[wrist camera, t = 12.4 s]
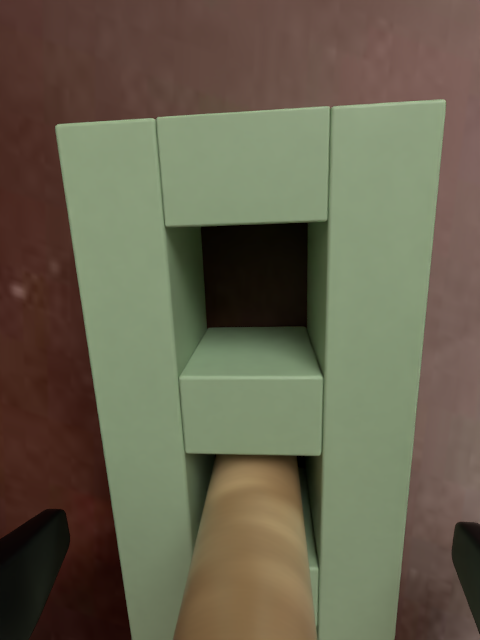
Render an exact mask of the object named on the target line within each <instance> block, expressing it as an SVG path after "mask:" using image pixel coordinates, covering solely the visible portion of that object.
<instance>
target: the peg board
mask: <svg viewBox="0 0 480 640" xmlns="http://www.w3.org/2000/svg"><path fill="white" fill-rule="evenodd" d="M445 110H446V100H442V99H439V100H423V101H408V102H392V103H377V104H361V105H345V106H334V107H332V108H331V110H330V107H328V106H323V107H308V108H292V109H277V110H261V111H246V112H230V113H214V114H199V115H183V116H168V117H158V118H157V119H156V120H155V119H153V118H146V119H130V120H115V121H99V122H84V123H68V124H58V125H56V127H55V131H56V137H57V144H58V151H59V157H60V164H61V171H62V177H63V184H64V191H65V197H66V204H67V211H68V217H69V224H70V231H71V237H72V244H73V251H74V257H75V264H76V271H77V277H78V284H79V290H80V297H81V304H82V310H83V317H84V324H85V330H86V337H87V344H88V350H89V357H90V364H91V370H92V377H93V384H94V390H95V397H96V404H97V410H98V417H99V424H100V430H101V437H102V443H103V450H104V457H105V463H106V470H107V477H108V483H109V490H110V497H111V503H112V510H113V517H114V523H115V530H116V537H117V543H118V550H119V557H120V563H121V570H122V576H123V583H124V590H125V596H126V603H127V610H128V616H129V623H130V630H131V636H132V640H173V636H174V632H175V628H176V623H177V619H178V615H179V611H180V606H181V602H182V598H183V594H184V589H185V585H186V581H187V576H188V572H189V568H190V564H191V559H192V555H193V551H194V547H195V542H196V538H197V534H198V530H199V525H200V521H201V517H202V513H203V508H204V504H205V500H206V496H207V491H208V487H209V483H210V478H211V474H212V470H213V466H214V461H215V454H231V455H286V456H305V469H304V468H303V467H298V471H299V480H300V489H301V498H302V506H303V515H304V524H305V533H306V542H307V551H308V560H309V569H310V578H311V587H312V596H313V605H314V614H315V623H316V631H317V640H394V638H395V628H396V617H397V607H398V597H399V586H400V576H401V566H402V555H403V545H404V535H405V524H406V514H407V504H408V493H409V483H410V472H411V462H412V452H413V441H414V431H415V421H416V410H417V400H418V390H419V379H420V369H421V359H422V348H423V338H424V327H425V317H426V307H427V296H428V286H429V276H430V265H431V255H432V245H433V234H434V224H435V214H436V203H437V193H438V183H439V172H440V162H441V151H442V141H443V131H444V120H445ZM307 222H308V259H307V329H306V327H304V326H299V327H219V328H208V329H207V320H206V304H205V288H204V271H203V255H202V239H201V226H226V225H253V224H280V223H307Z"/></svg>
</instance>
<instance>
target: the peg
mask: <svg viewBox="0 0 480 640" xmlns="http://www.w3.org/2000/svg"><path fill="white" fill-rule="evenodd" d="M173 640H317V631H316V623H315V614H314V605H313V596H312V587H311V578H310V569H309V560H308V551H307V542H306V533H305V524H304V515H303V506H302V498H301V489H300V480H299V471H298V462H297V456H286V455H231V454H216V457H215V461H214V466H213V470H212V474H211V478H210V483H209V487H208V491H207V496H206V500H205V504H204V508H203V513H202V517H201V521H200V525H199V530H198V534H197V538H196V542H195V547H194V551H193V555H192V559H191V564H190V568H189V572H188V576H187V581H186V585H185V589H184V594H183V598H182V602H181V606H180V611H179V615H178V619H177V623H176V628H175V632H174V636H173Z"/></svg>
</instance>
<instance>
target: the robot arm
mask: <svg viewBox="0 0 480 640" xmlns="http://www.w3.org/2000/svg"><path fill="white" fill-rule="evenodd" d="M69 544H70V533H69V528H68V523H67V518H66V513H65V512H64V510H61V509H47V510H44V511H43V512H41V513H40V514H38V515H36V516H35V517H33V518H32V519H30V520H29V521H27V522H26V523H24V524H23V525H21V526H20V527H18V528H17V529H15V530H14V531H12V532H11V533H9V534H7V535H6V536H4V537H3V538H1V539H0V640H29V638H30V636H31V634H32V632H33V630H34V628H35V626H36V624H37V622H38V620H39V617H40V615H41V613H42V611H43V608H44V606H45V604H46V601H47V599H48V596H49V594H50V591H51V589H52V587H53V584H54V582H55V579H56V577H57V575H58V572H59V570H60V567H61V565H62V562H63V560H64V558H65V555H66V553H67V550H68V548H69ZM452 560H453V564H454V566H455V569H456V572H457V575H458V577H459V580H460V583H461V585H462V588H463V591H464V593H465V596H466V599H467V601H468V604H469V607H470V609H471V612H472V615H473V618H474V620H475V623H476V626H477V628H478V631H479V634H480V524H478V523H475V522H458V523H457V524H456V525H455V530H454V537H453V545H452Z"/></svg>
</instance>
